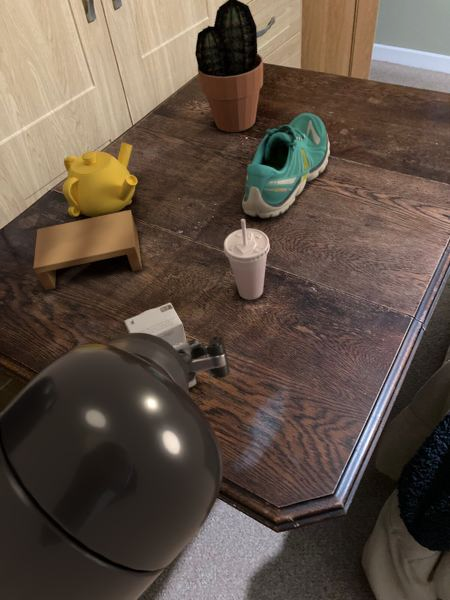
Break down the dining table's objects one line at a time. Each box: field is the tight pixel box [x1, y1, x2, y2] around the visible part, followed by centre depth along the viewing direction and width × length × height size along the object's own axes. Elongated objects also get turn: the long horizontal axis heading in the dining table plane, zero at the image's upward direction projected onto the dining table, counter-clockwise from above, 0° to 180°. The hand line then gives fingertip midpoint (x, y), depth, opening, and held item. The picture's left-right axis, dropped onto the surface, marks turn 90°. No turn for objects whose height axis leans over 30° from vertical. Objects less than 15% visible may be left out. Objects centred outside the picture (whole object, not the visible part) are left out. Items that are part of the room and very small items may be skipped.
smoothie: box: [223, 218, 271, 301], centre depth 70 cm, size 6×6×14 cm
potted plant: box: [194, 0, 264, 133], centre depth 102 cm, size 14×14×25 cm
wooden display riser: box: [33, 209, 143, 291], centre depth 82 cm, size 16×10×5 cm, turn 102°
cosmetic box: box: [123, 302, 197, 389], centre depth 61 cm, size 6×4×12 cm
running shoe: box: [241, 112, 331, 220], centre depth 89 cm, size 11×29×11 cm, turn 155°
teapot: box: [62, 142, 138, 218], centre depth 90 cm, size 14×14×11 cm
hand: (151, 359), depth 48 cm, fingers open, 8 cm apart
